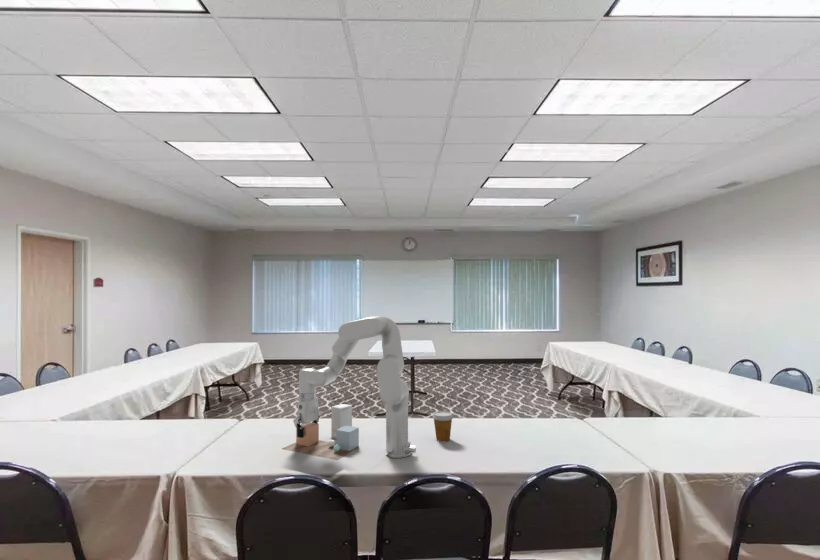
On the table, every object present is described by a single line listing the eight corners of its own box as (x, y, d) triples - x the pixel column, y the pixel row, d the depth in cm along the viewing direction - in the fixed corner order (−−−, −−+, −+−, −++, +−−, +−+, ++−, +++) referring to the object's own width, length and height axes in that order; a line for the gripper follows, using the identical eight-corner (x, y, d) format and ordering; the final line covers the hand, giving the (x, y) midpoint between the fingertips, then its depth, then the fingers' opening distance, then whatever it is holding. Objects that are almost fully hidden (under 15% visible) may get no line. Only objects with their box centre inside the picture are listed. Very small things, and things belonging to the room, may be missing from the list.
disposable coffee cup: (453, 436, 201) (452, 411, 202) (453, 443, 192) (452, 416, 192) (433, 435, 202) (433, 410, 203) (432, 442, 192) (432, 416, 193)
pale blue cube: (358, 446, 184) (358, 427, 185) (349, 451, 178) (349, 432, 179) (345, 443, 188) (345, 425, 188) (336, 448, 181) (336, 429, 182)
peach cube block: (318, 441, 191) (318, 423, 191) (308, 446, 184) (308, 427, 185) (306, 439, 194) (306, 421, 194) (296, 443, 188) (296, 425, 188)
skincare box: (339, 442, 194) (339, 408, 194) (330, 439, 198) (330, 406, 198) (352, 437, 200) (352, 404, 201) (343, 435, 204) (343, 403, 205)
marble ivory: (330, 438, 185) (326, 444, 183) (333, 437, 183) (329, 443, 181) (334, 443, 186) (330, 448, 184) (338, 442, 184) (334, 448, 182)
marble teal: (341, 444, 177) (334, 444, 176) (341, 452, 176) (334, 452, 175) (339, 443, 180) (332, 444, 179) (339, 451, 179) (332, 451, 178)
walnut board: (359, 451, 182) (359, 447, 182) (337, 463, 168) (337, 460, 168) (306, 441, 196) (306, 437, 196) (281, 452, 182) (281, 448, 182)
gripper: (301, 401, 181) (300, 441, 180) (326, 393, 196) (326, 429, 195) (287, 399, 184) (287, 438, 183) (313, 391, 200) (313, 427, 199)
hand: (307, 434), depth 189 cm, fingers open, 9 cm apart
